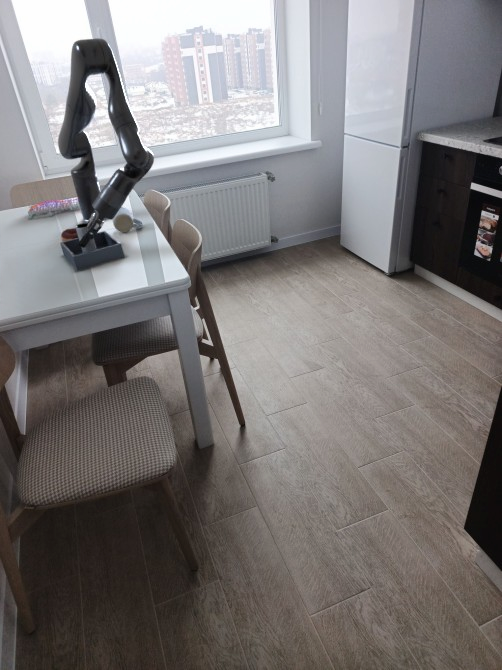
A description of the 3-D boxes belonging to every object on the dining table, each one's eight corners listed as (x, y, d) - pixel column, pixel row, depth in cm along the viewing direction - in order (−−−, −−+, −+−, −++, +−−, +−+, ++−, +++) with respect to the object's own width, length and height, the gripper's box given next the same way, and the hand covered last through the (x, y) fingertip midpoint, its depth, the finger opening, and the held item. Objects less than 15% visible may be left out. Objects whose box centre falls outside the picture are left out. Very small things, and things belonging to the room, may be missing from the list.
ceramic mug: (115, 235, 174) (111, 214, 170) (114, 228, 181) (109, 208, 177) (144, 230, 177) (140, 210, 173) (142, 223, 183) (138, 204, 179)
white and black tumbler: (94, 258, 154) (85, 227, 149) (81, 258, 155) (72, 227, 150) (100, 252, 158) (92, 222, 152) (88, 252, 159) (79, 222, 153)
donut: (92, 242, 170) (89, 231, 168) (64, 248, 167) (61, 237, 165) (89, 233, 178) (86, 223, 176) (62, 239, 175) (59, 229, 173)
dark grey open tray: (63, 255, 160) (59, 242, 158) (108, 243, 167) (105, 230, 165) (77, 271, 148) (73, 256, 146) (124, 257, 155) (121, 243, 152)
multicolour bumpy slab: (100, 200, 217) (97, 188, 214) (99, 209, 204) (96, 197, 202) (31, 209, 212) (28, 198, 209) (26, 219, 200) (22, 207, 197)
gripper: (99, 188, 154) (71, 229, 158) (99, 199, 142) (69, 244, 146) (119, 201, 157) (92, 242, 162) (121, 214, 145) (91, 257, 150)
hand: (81, 243), depth 154 cm, fingers closed on white and black tumbler, 4 cm apart
